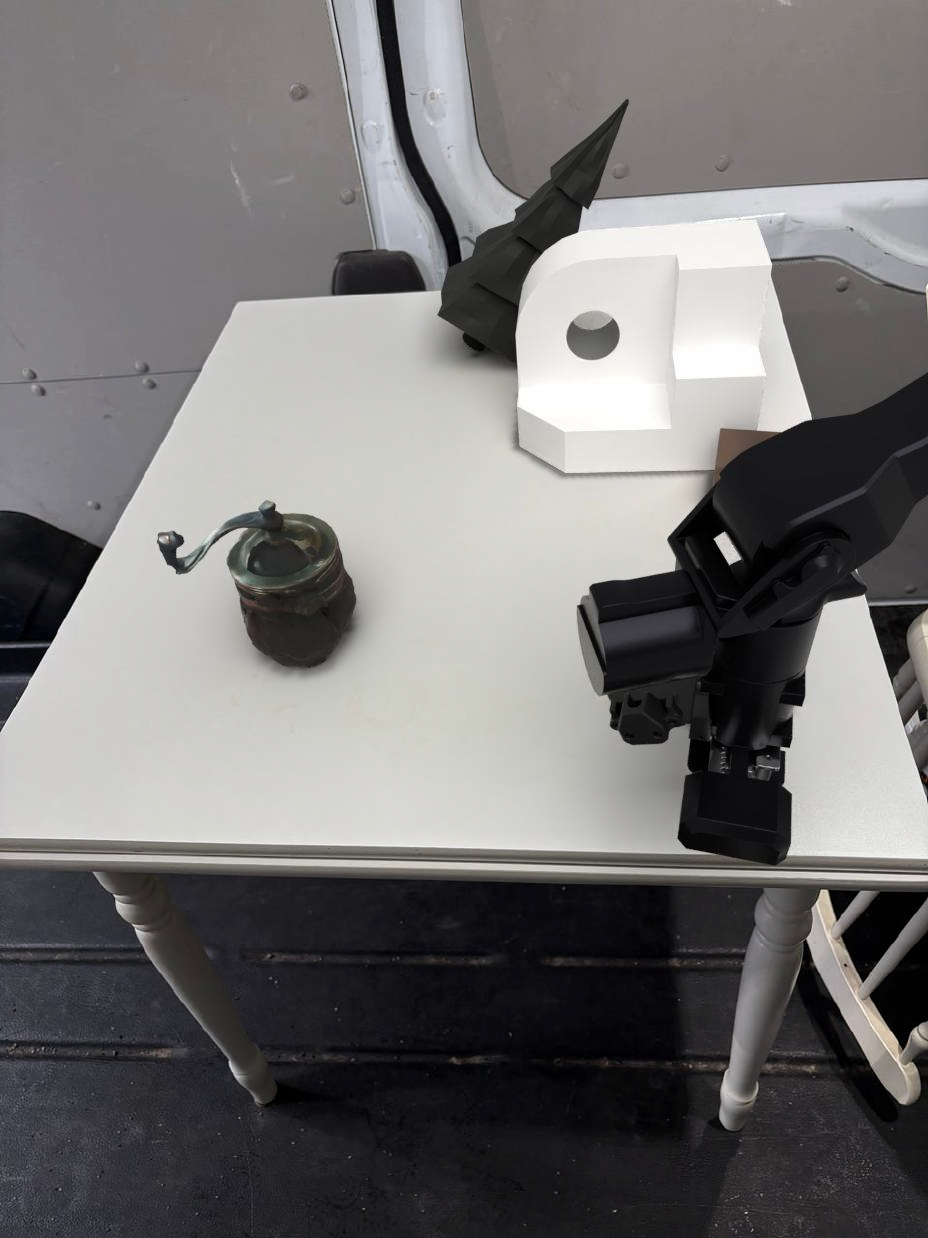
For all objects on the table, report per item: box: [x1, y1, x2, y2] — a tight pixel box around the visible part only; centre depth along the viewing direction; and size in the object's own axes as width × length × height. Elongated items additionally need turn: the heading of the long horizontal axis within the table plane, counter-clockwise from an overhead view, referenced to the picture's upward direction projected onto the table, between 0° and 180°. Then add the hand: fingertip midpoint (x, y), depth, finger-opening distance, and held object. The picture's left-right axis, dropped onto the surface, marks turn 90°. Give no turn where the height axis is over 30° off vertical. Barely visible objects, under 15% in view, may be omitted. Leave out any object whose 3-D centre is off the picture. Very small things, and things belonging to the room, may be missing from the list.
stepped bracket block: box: [516, 219, 773, 474], centre depth 93 cm, size 26×17×20 cm, turn 84°
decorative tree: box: [436, 98, 630, 365], centre depth 106 cm, size 15×15×35 cm
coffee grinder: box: [156, 499, 358, 668], centre depth 74 cm, size 13×15×18 cm
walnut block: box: [711, 428, 782, 488], centre depth 88 cm, size 7×7×6 cm
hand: (725, 791), depth 60 cm, fingers closed
